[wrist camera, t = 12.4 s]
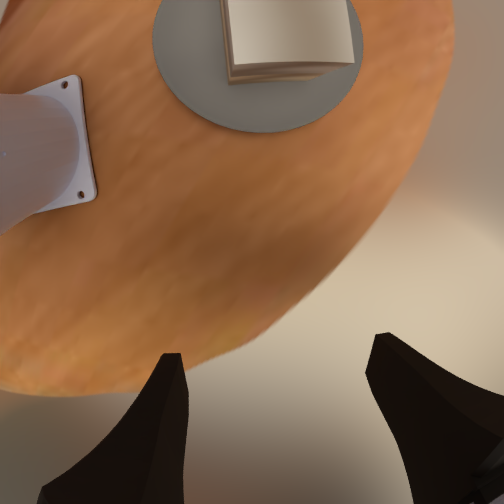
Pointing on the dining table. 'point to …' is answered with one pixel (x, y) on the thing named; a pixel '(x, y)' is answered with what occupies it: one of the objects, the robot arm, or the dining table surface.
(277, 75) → the block
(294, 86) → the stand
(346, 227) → the dining table surface
